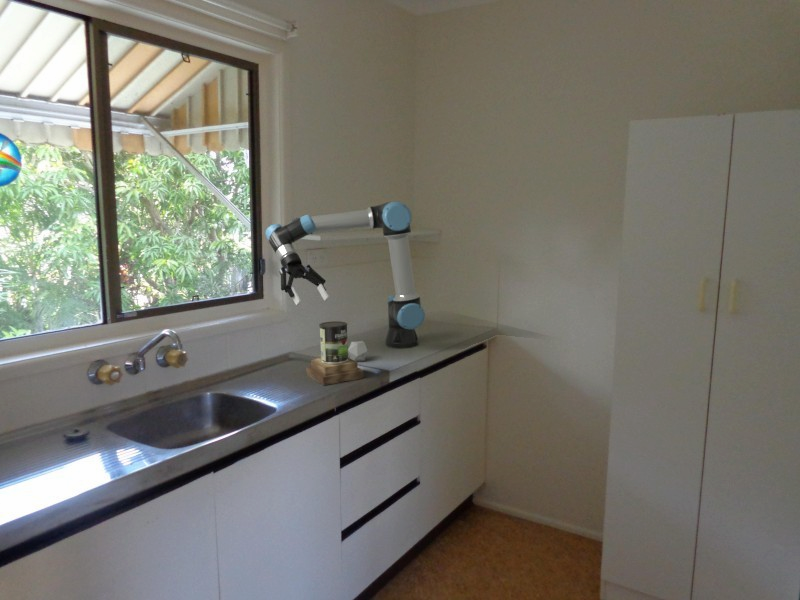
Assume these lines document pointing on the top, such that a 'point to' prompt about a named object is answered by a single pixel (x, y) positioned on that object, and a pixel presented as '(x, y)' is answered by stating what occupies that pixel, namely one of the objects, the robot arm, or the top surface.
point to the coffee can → (333, 342)
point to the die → (357, 351)
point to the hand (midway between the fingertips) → (313, 301)
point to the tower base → (334, 377)
